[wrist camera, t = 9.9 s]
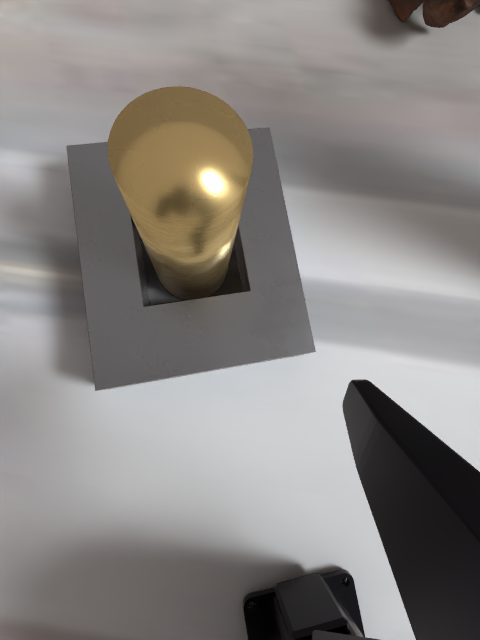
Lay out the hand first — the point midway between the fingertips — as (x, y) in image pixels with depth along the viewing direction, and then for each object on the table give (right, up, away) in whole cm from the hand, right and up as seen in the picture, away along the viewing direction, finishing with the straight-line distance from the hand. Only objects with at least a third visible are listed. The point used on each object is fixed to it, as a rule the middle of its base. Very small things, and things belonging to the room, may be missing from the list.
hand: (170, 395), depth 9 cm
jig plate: (-1, +5, +15) cm, 16 cm away
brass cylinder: (-1, +5, +15) cm, 16 cm away
